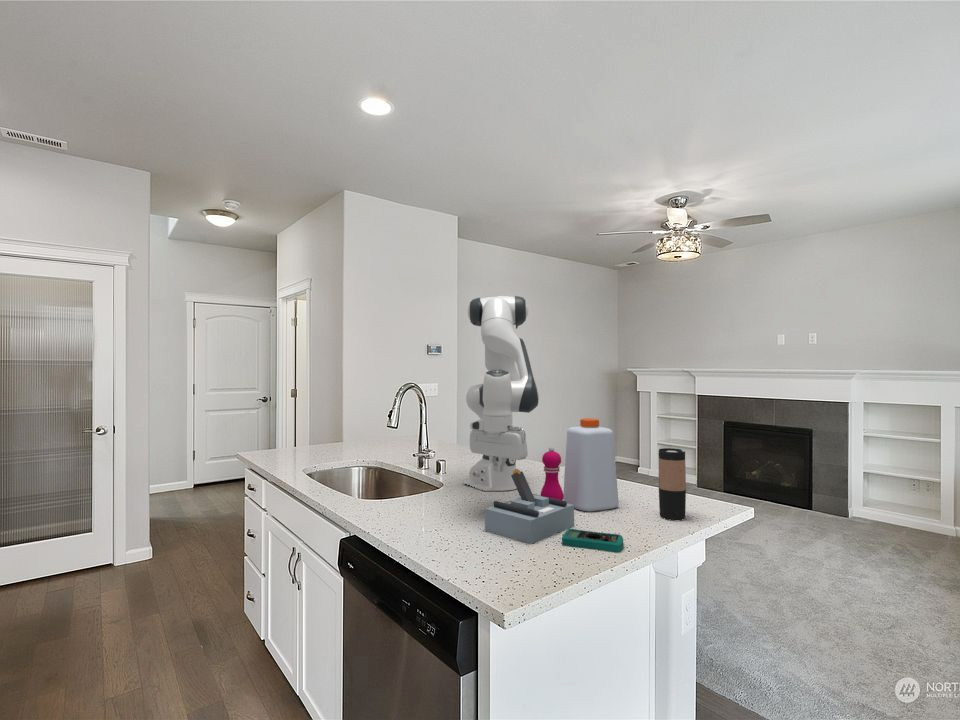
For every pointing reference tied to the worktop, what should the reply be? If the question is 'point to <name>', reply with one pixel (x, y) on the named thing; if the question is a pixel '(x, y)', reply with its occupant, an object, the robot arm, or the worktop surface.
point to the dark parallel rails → (526, 510)
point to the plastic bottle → (590, 467)
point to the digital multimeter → (593, 540)
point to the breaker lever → (522, 486)
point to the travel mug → (672, 483)
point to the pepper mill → (552, 475)
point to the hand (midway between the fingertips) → (497, 471)
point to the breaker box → (529, 520)
